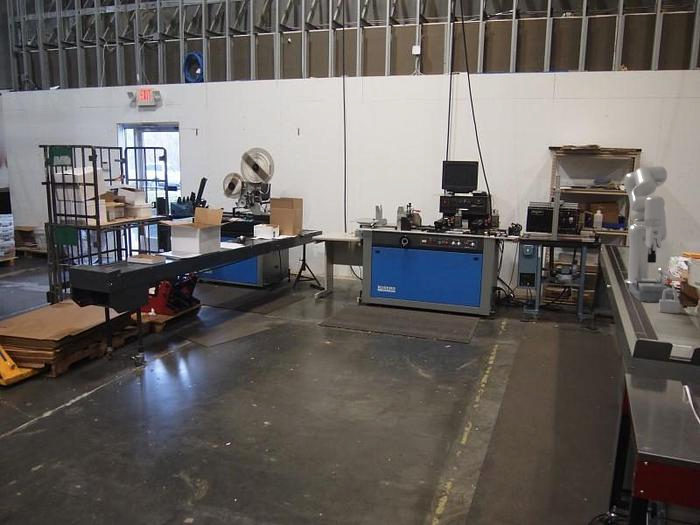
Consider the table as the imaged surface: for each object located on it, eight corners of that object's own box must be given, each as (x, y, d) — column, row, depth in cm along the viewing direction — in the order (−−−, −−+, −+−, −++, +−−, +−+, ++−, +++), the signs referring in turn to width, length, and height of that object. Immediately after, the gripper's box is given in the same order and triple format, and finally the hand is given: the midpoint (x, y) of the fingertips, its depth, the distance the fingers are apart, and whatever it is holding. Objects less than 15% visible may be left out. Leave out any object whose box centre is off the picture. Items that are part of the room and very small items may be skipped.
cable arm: (656, 288, 266) (657, 267, 265) (663, 288, 265) (665, 267, 264) (669, 299, 241) (670, 277, 240) (677, 299, 240) (678, 277, 239)
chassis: (628, 290, 267) (629, 276, 266) (658, 291, 263) (659, 277, 262) (639, 301, 243) (639, 286, 242) (671, 302, 238) (672, 287, 237)
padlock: (659, 312, 222) (660, 288, 221) (658, 310, 226) (659, 287, 224) (679, 313, 219) (680, 289, 217) (678, 311, 222) (679, 288, 221)
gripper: (666, 224, 242) (664, 264, 244) (658, 222, 256) (656, 260, 258) (647, 224, 244) (646, 264, 246) (640, 222, 258) (639, 260, 261)
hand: (651, 262), depth 252 cm, fingers closed
